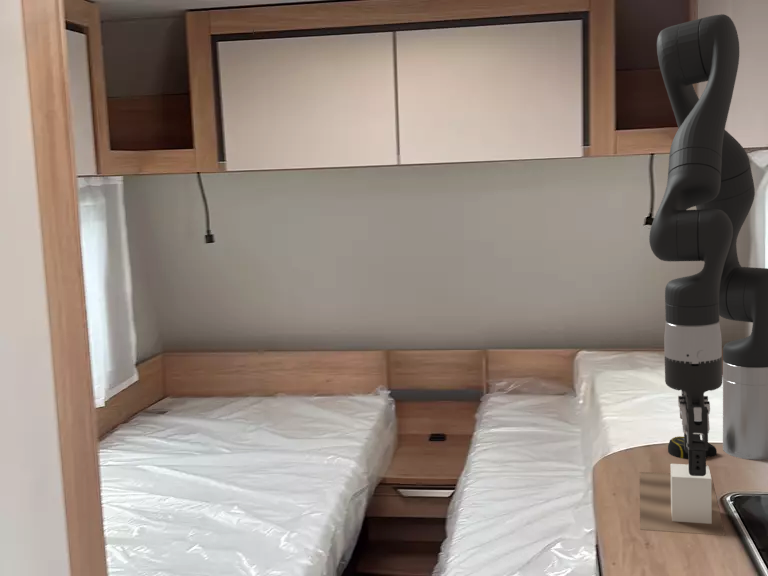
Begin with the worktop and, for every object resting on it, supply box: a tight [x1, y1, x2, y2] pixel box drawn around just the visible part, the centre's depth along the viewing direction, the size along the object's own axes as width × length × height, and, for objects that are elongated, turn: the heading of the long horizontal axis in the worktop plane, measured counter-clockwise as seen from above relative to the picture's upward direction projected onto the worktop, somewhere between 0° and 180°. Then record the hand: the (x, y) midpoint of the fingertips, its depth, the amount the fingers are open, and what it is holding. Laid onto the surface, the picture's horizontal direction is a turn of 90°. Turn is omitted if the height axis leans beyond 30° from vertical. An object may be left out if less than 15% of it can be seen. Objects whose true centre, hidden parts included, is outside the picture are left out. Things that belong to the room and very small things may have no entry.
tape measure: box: [667, 435, 718, 460], centre depth 144 cm, size 7×7×4 cm
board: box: [639, 471, 726, 536], centre depth 125 cm, size 22×11×2 cm, turn 163°
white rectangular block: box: [670, 463, 712, 524], centre depth 119 cm, size 5×5×7 cm
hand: (694, 463), depth 118 cm, fingers open, 8 cm apart
